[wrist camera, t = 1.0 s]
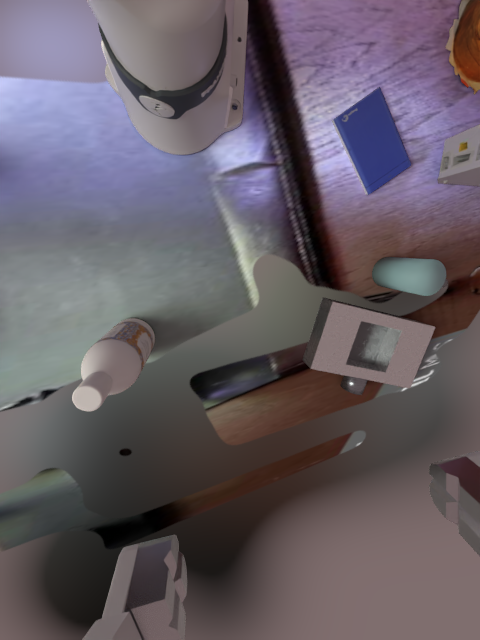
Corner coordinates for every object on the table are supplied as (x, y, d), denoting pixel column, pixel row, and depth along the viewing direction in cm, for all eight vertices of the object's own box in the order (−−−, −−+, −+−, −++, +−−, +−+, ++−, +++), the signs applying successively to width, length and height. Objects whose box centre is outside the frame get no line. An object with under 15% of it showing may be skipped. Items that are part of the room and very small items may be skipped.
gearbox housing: (322, 297, 50) (333, 301, 46) (418, 321, 53) (436, 327, 49) (297, 374, 53) (305, 384, 49) (390, 392, 56) (404, 403, 52)
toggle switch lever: (378, 253, 49) (421, 255, 39) (411, 263, 50) (460, 267, 41) (368, 282, 50) (407, 291, 40) (401, 291, 51) (446, 301, 42)
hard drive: (334, 118, 42) (369, 194, 45) (380, 85, 42) (412, 164, 45) (329, 122, 43) (364, 195, 47) (374, 91, 43) (406, 167, 47)
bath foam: (159, 353, 48) (130, 422, 29) (118, 360, 48) (61, 435, 29) (150, 314, 47) (114, 361, 27) (108, 321, 46) (39, 373, 27)
